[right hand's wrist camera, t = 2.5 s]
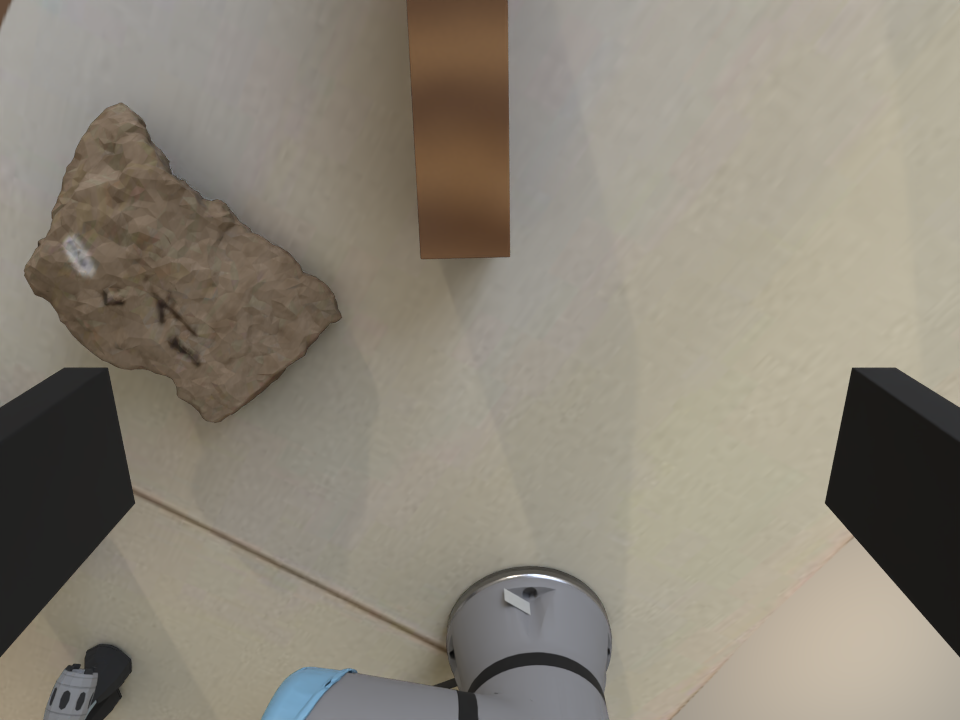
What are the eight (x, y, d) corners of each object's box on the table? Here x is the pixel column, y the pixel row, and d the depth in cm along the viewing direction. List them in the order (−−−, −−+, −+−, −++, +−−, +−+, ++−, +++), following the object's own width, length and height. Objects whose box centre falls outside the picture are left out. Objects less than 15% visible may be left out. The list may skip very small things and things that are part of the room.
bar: (505, 232, 52) (510, 257, 43) (430, 234, 52) (420, 259, 43) (499, -221, 42) (504, -305, 34) (408, -219, 42) (389, -302, 34)
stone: (-17, 252, 49) (-54, 266, 43) (123, 97, 48) (103, 92, 43) (227, 423, 57) (222, 453, 52) (347, 293, 57) (355, 310, 51)
